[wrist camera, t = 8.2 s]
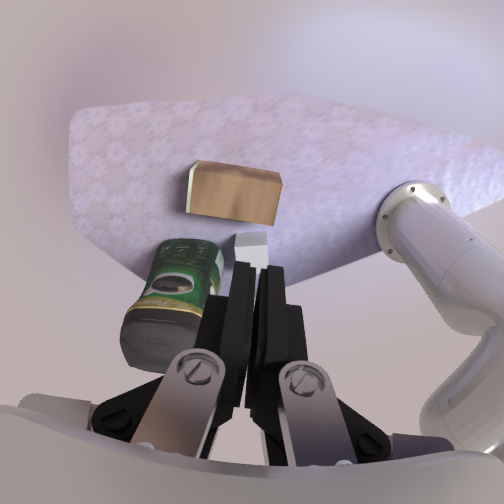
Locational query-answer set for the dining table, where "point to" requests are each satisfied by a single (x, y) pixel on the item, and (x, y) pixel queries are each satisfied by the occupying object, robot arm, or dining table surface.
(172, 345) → the coffee jar
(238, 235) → the grey cube
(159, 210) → the dining table surface
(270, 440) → the robot arm
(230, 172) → the tan block
